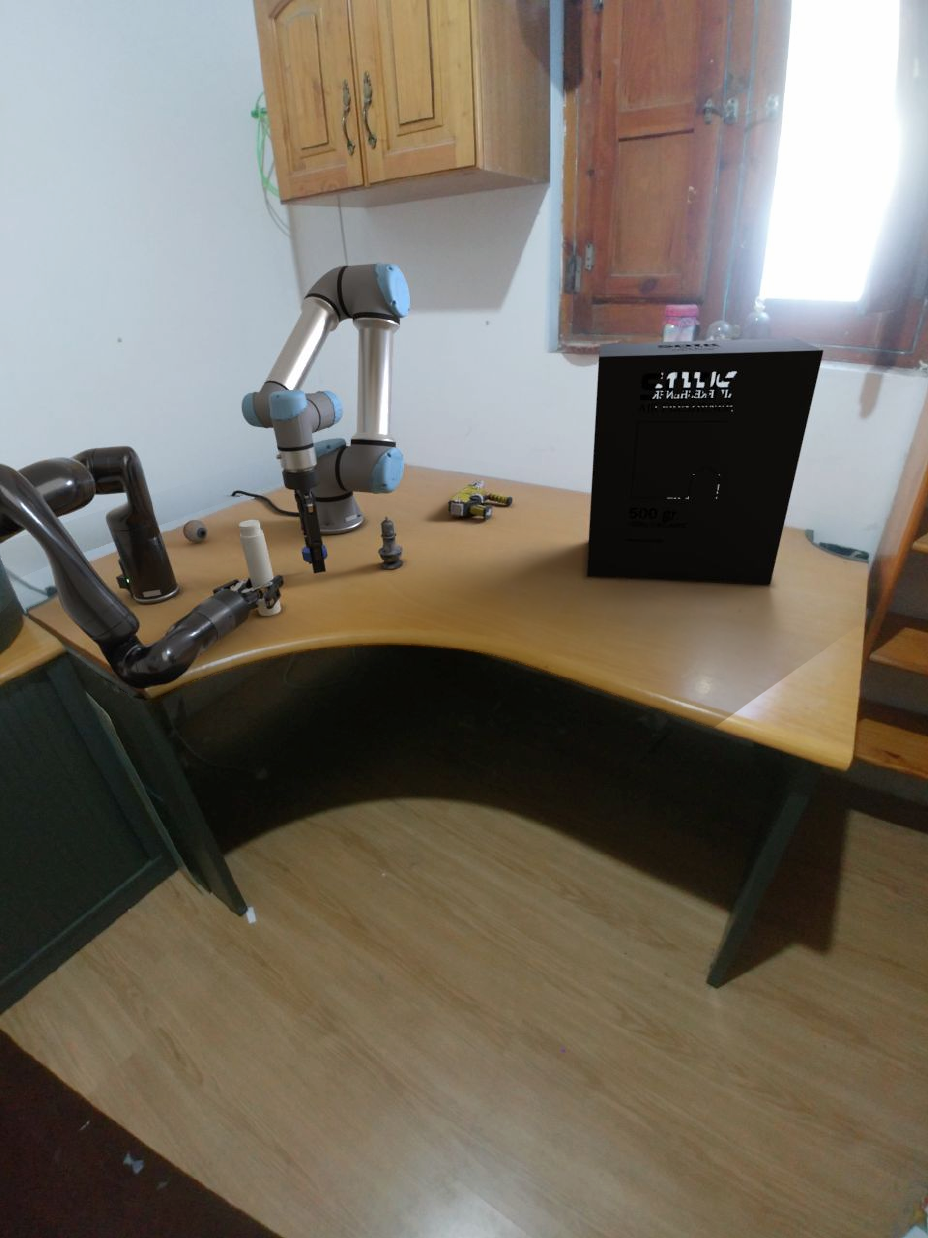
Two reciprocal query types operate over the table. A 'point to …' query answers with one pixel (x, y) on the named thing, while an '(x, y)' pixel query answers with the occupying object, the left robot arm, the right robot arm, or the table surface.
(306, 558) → the lid
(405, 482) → the table surface
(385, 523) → the grey tall stepped piece
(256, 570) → the jar
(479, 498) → the toy gun
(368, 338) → the right robot arm
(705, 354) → the cardboard box
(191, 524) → the eyeball
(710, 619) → the table surface
